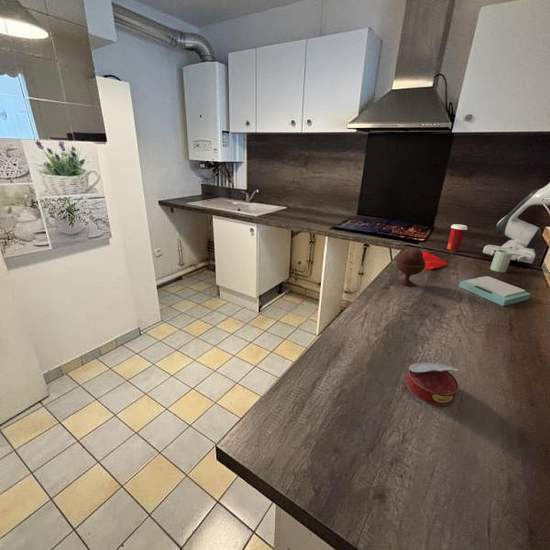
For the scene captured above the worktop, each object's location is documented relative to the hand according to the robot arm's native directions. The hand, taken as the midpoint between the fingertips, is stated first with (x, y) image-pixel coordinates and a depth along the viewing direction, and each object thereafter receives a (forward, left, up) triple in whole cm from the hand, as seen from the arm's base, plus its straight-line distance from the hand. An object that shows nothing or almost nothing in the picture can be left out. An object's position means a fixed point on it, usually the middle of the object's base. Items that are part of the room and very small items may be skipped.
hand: (505, 256), depth 138 cm
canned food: (-44, +100, -5) cm, 109 cm away
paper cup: (+26, +1, -5) cm, 26 cm away
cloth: (+16, +28, -5) cm, 33 cm away
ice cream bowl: (+1, +61, -5) cm, 61 cm away
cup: (-2, +7, -5) cm, 9 cm away
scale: (-17, +35, -5) cm, 39 cm away
